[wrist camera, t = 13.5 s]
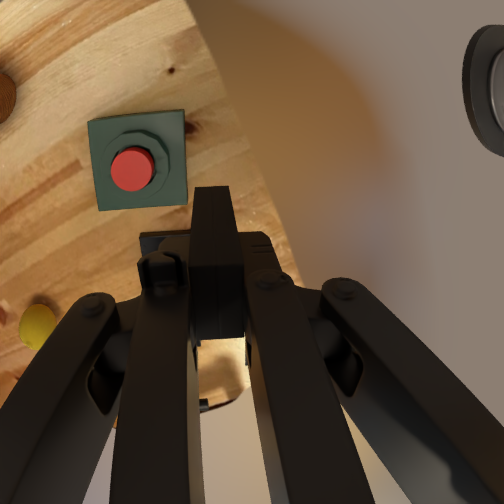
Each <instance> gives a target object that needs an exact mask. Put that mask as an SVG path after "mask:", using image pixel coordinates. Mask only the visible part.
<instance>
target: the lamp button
mask: <svg viewBox="0 0 504 504" xmlns="http://www.w3.org/2000/svg"><path fill="white" fill-rule="evenodd" d="M153 171H154V162H153V159H152V157H151V155H150V154H149V153H148V152H147V151H146V150H144V149H142V148H139V147H130V148H127V149H125V150H123V151H122V152H121V153H120V154H119V155H118V156H117V157H116V158H115V159H114V161H113V163H112V166H111V175H112V179H113V181H114V182H115V184H116V185H117V186H118V187H120V188H121V189H123V190H126V191H137V190H140V189H142V188H143V187H145V186H146V185H147V183H148V182H149V180H150V178H151V176H152V174H153Z"/></svg>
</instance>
